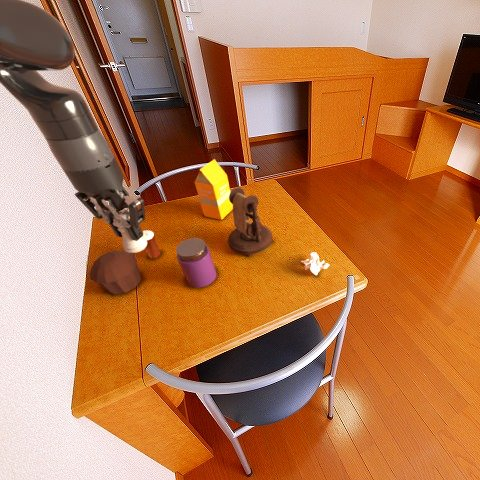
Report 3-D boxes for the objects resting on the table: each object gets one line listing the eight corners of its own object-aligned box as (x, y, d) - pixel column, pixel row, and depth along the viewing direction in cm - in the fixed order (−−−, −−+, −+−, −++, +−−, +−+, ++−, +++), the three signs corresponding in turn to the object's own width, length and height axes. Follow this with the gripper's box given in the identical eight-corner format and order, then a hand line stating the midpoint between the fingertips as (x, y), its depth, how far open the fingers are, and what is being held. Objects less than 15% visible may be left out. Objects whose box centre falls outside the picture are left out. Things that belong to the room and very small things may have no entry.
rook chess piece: (125, 256, 57) (106, 226, 52) (124, 244, 60) (107, 214, 55) (149, 250, 59) (133, 220, 54) (147, 238, 62) (132, 208, 57)
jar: (206, 290, 78) (195, 262, 71) (180, 284, 80) (167, 255, 72) (222, 270, 85) (213, 241, 77) (198, 264, 86) (187, 236, 79)
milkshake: (144, 253, 89) (131, 228, 83) (162, 248, 91) (151, 224, 84) (144, 262, 86) (130, 237, 80) (162, 257, 88) (151, 233, 81)
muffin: (109, 271, 83) (92, 246, 76) (149, 265, 85) (136, 241, 79) (95, 302, 74) (74, 277, 68) (140, 295, 76) (124, 270, 70)
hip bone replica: (331, 261, 83) (314, 269, 80) (329, 271, 86) (312, 280, 82) (315, 247, 88) (298, 254, 84) (314, 257, 91) (297, 264, 87)
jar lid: (196, 264, 72) (194, 259, 71) (171, 258, 74) (169, 253, 72) (212, 246, 78) (210, 240, 76) (189, 240, 79) (187, 235, 78)
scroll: (220, 243, 94) (206, 192, 81) (254, 224, 103) (246, 175, 90) (247, 264, 87) (237, 212, 74) (281, 241, 96) (277, 191, 83)
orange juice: (204, 216, 105) (189, 167, 92) (217, 204, 112) (205, 157, 99) (222, 220, 104) (209, 171, 91) (234, 207, 110) (224, 160, 97)
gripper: (32, 162, 45) (87, 241, 56) (103, 175, 42) (146, 255, 54) (74, 145, 50) (117, 220, 62) (139, 155, 48) (171, 231, 59)
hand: (130, 236), depth 58 cm, fingers closed on rook chess piece, 3 cm apart
